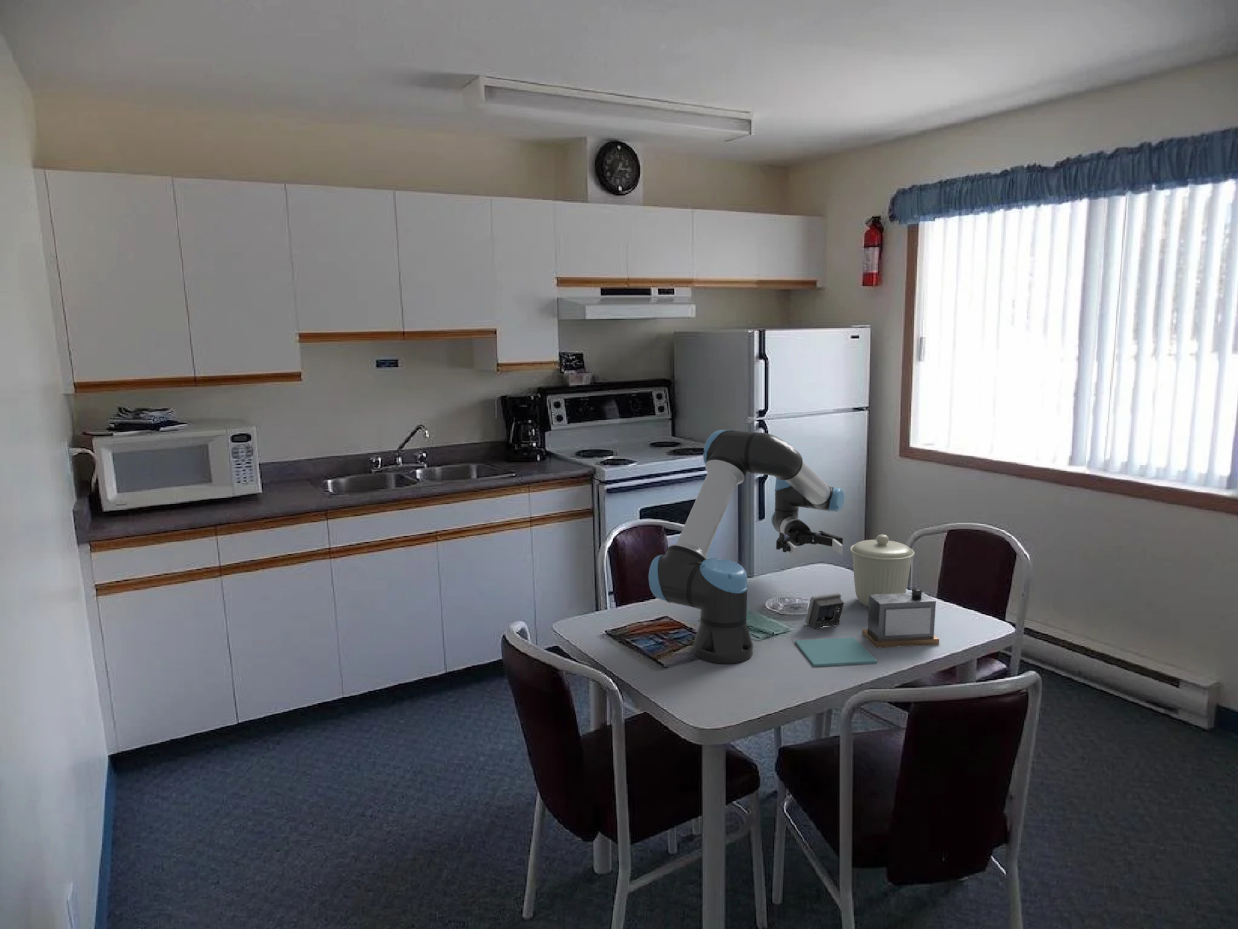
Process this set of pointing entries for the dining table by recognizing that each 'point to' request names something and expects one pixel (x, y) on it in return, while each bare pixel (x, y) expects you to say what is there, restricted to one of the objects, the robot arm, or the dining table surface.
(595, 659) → the dining table surface
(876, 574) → the canister
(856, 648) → the service mat
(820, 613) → the electrical switch
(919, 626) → the junction box
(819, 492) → the robot arm
